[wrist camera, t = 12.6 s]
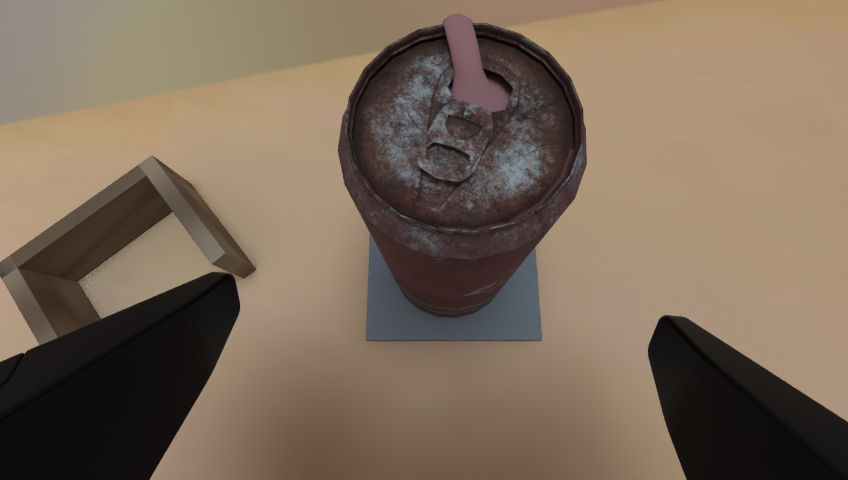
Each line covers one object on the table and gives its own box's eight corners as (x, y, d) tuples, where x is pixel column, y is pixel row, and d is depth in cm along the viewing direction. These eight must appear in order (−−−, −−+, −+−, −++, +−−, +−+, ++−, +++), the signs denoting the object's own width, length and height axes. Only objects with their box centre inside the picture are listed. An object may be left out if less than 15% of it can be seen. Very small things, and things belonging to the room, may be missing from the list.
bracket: (256, 269, 24) (225, 253, 20) (117, 378, 22) (60, 380, 19) (190, 183, 25) (151, 155, 22) (57, 280, 24) (-6, 266, 20)
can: (488, 193, 24) (550, -24, 11) (519, 304, 22) (642, 211, 9) (382, 216, 24) (309, 25, 10) (405, 329, 22) (353, 275, 9)
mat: (540, 340, 22) (541, 340, 22) (366, 340, 22) (366, 340, 22) (528, 179, 24) (529, 177, 24) (373, 181, 25) (372, 179, 24)
